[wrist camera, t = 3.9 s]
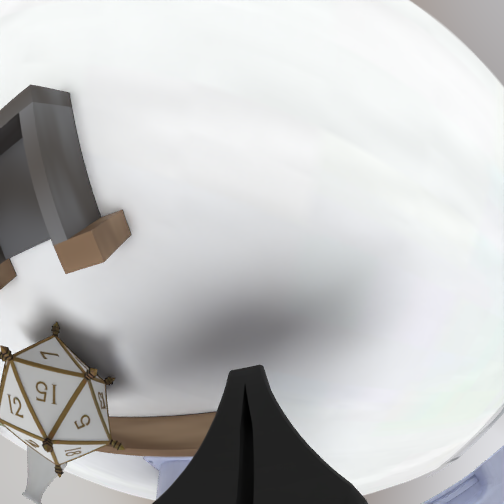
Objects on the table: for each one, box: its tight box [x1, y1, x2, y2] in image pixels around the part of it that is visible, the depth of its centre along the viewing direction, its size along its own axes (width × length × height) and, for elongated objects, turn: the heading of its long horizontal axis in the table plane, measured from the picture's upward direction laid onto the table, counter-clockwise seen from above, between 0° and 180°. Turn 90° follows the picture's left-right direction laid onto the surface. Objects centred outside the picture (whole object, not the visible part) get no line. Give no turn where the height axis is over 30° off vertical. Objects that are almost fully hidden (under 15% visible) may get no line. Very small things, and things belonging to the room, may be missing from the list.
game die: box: [0, 322, 125, 477], centre depth 10 cm, size 9×8×10 cm
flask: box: [22, 445, 67, 504], centre depth 17 cm, size 7×7×10 cm
